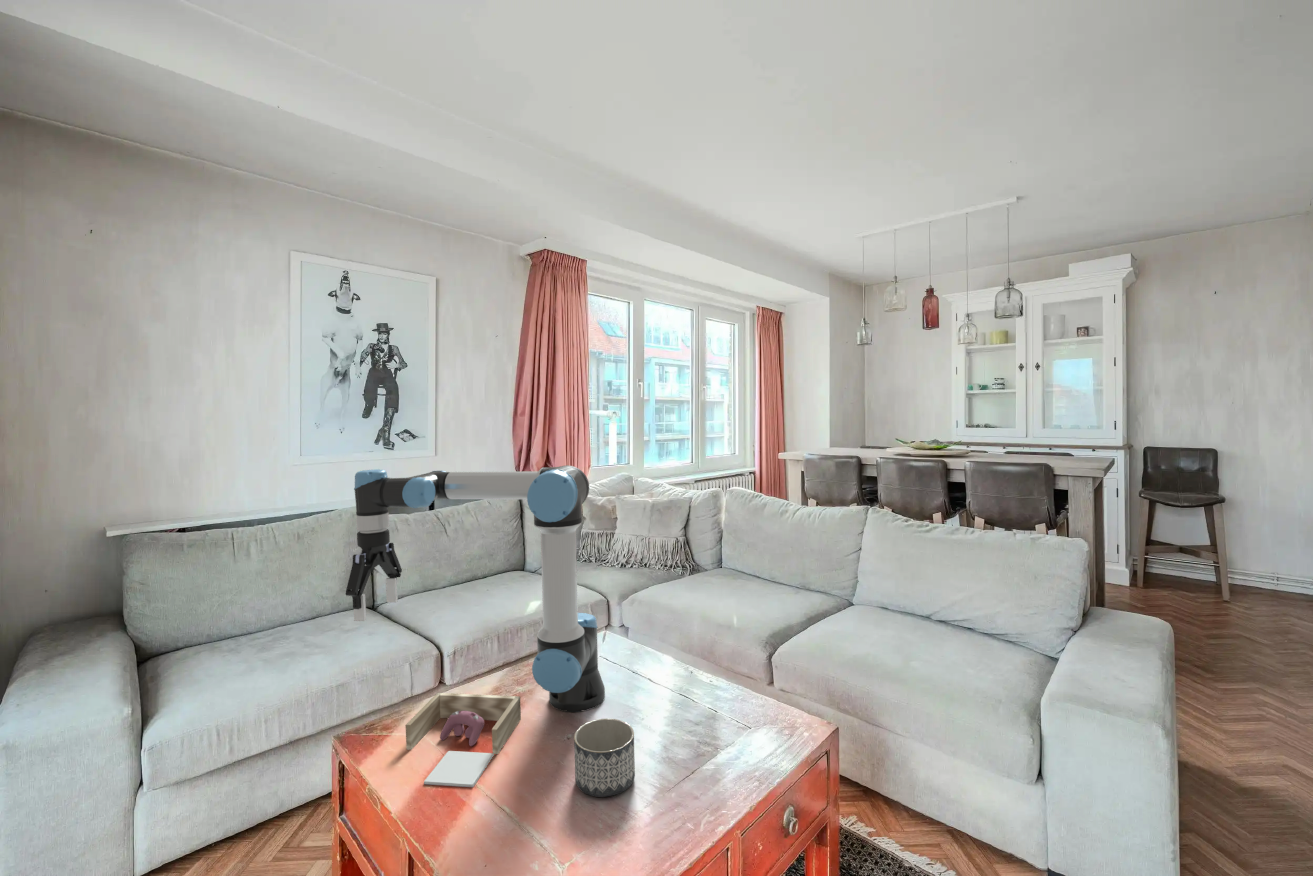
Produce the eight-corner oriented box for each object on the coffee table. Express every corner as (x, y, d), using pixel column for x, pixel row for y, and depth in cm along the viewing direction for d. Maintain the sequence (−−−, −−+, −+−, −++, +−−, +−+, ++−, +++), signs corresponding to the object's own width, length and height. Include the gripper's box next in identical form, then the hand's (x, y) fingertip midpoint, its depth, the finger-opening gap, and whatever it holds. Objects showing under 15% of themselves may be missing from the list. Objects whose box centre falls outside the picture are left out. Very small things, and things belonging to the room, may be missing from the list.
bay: (520, 719, 148) (520, 696, 148) (497, 754, 133) (496, 729, 133) (438, 715, 151) (437, 692, 151) (406, 749, 136) (405, 724, 136)
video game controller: (482, 746, 140) (489, 714, 142) (471, 747, 136) (478, 714, 138) (448, 739, 143) (455, 708, 146) (436, 740, 139) (444, 708, 142)
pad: (493, 755, 133) (493, 753, 133) (473, 787, 122) (473, 784, 122) (448, 753, 134) (448, 750, 134) (424, 784, 123) (423, 781, 123)
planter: (611, 810, 115) (610, 759, 114) (562, 788, 121) (561, 740, 121) (646, 775, 125) (645, 728, 125) (599, 757, 132) (598, 712, 131)
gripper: (388, 520, 162) (391, 594, 163) (326, 541, 137) (330, 629, 138) (413, 520, 161) (416, 595, 162) (355, 541, 136) (359, 630, 137)
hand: (376, 611), depth 150 cm, fingers open, 13 cm apart
